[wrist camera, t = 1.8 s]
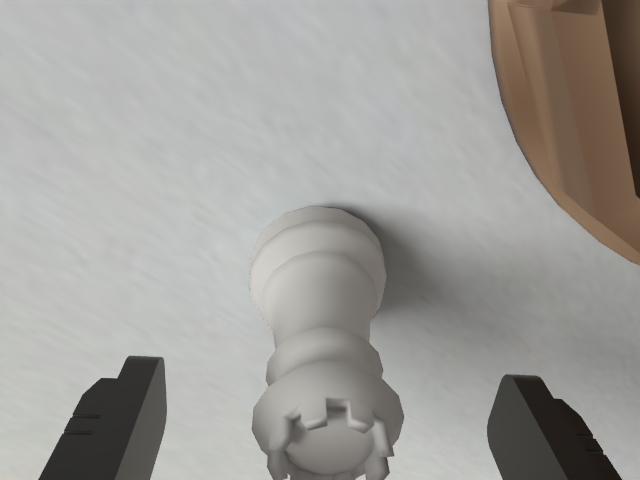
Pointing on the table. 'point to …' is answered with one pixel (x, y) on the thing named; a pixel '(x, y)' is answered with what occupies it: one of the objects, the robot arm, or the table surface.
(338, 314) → the rook chess piece
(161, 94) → the table surface
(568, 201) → the ring tray
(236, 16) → the table surface
